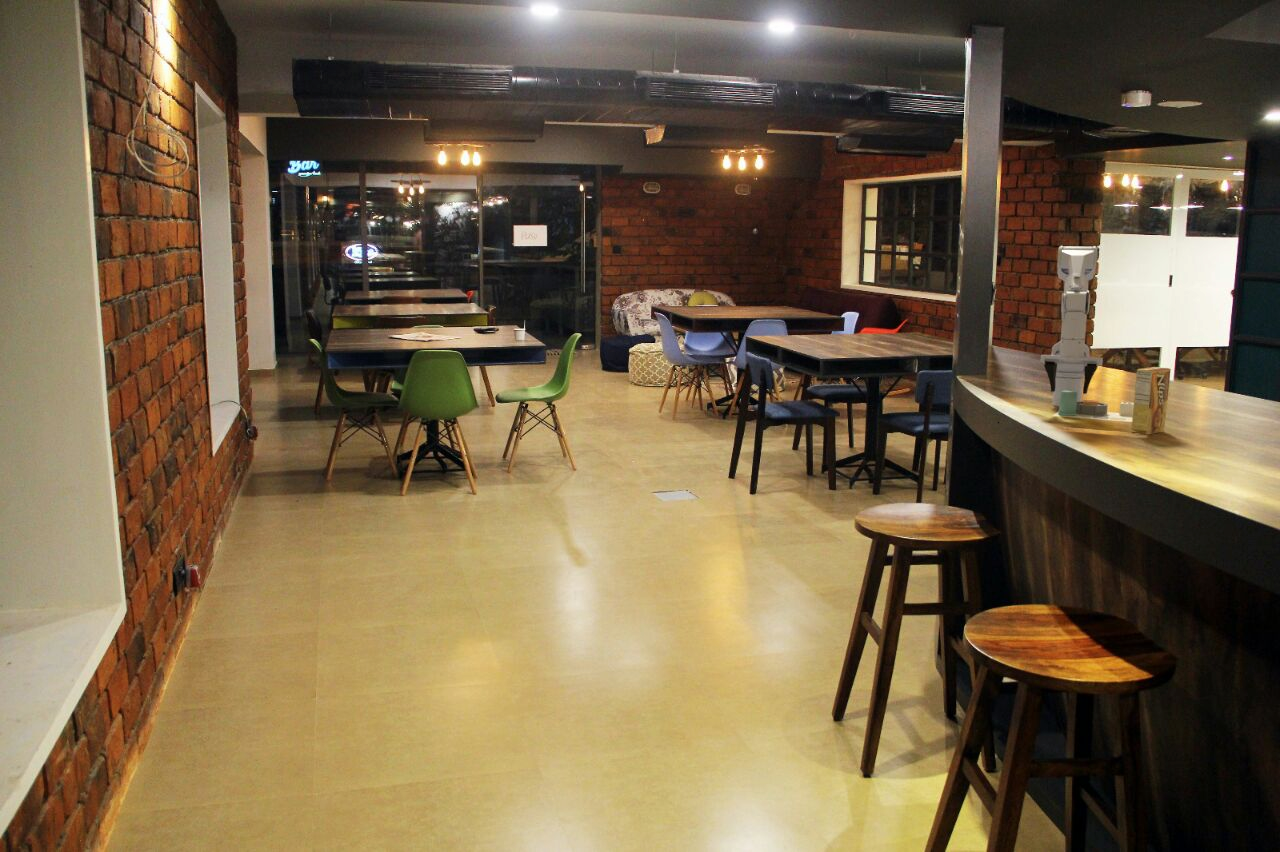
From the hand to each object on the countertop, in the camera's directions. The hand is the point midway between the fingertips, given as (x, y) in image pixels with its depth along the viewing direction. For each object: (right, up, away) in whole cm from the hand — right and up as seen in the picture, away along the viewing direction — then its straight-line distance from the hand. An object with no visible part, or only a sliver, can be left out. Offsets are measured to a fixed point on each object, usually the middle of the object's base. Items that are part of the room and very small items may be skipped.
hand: (1068, 392), depth 276 cm
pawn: (0, -6, +1) cm, 6 cm away
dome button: (+7, -4, +4) cm, 9 cm away
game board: (+9, -7, +1) cm, 11 cm away
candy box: (+11, -10, -19) cm, 24 cm away
